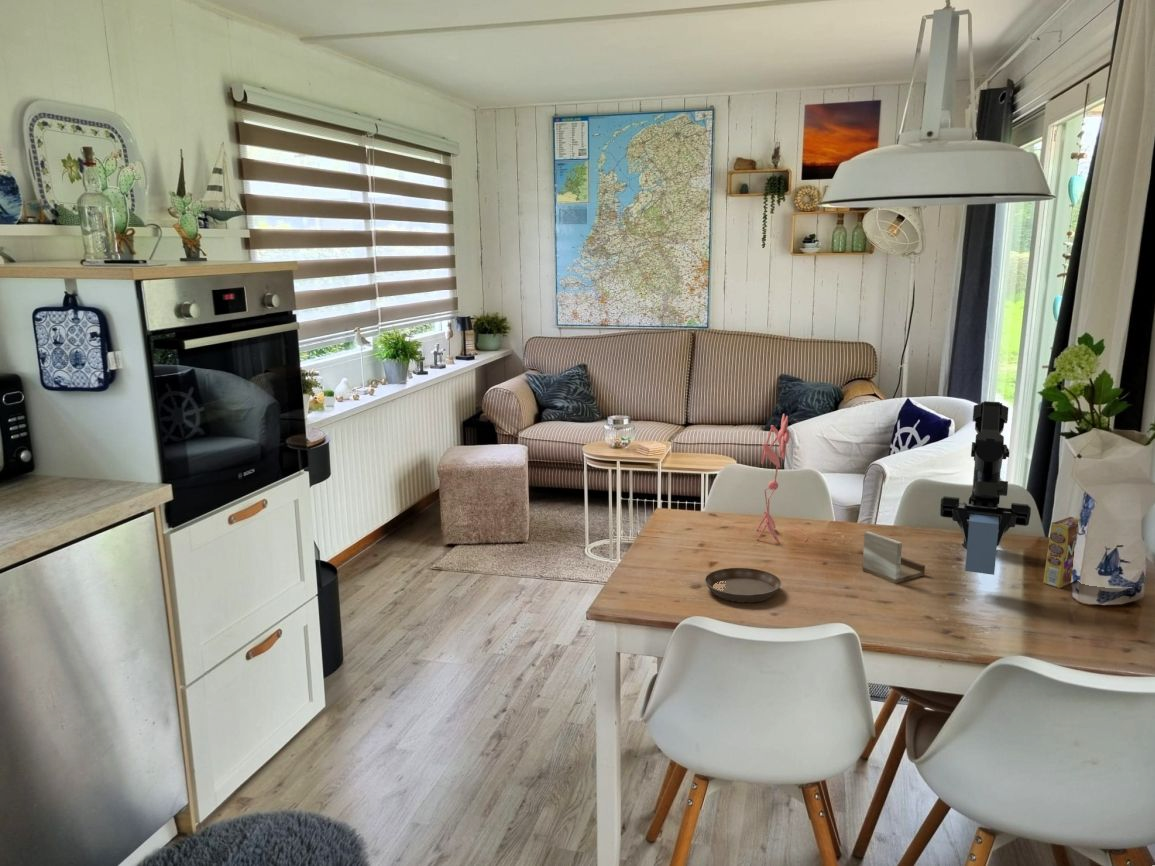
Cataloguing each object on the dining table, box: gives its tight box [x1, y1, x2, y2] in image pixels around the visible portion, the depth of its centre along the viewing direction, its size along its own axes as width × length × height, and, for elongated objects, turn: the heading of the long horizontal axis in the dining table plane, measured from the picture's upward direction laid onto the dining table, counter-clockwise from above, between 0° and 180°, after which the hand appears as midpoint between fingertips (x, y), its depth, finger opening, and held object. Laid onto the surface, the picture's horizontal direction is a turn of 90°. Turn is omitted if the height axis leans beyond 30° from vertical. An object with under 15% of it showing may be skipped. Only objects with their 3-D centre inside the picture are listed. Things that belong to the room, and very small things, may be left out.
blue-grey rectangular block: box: [964, 514, 999, 576], centre depth 193 cm, size 7×6×12 cm
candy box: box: [1043, 516, 1080, 589], centre depth 199 cm, size 9×4×15 cm, turn 123°
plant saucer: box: [704, 567, 782, 603], centre depth 197 cm, size 18×18×3 cm
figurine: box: [753, 413, 808, 548], centre depth 232 cm, size 15×26×35 cm, turn 168°
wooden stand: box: [861, 531, 926, 584], centre depth 207 cm, size 10×10×10 cm
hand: (981, 543), depth 191 cm, fingers closed on blue-grey rectangular block, 6 cm apart
